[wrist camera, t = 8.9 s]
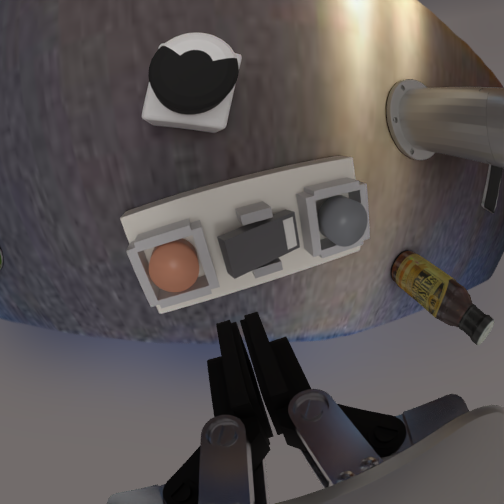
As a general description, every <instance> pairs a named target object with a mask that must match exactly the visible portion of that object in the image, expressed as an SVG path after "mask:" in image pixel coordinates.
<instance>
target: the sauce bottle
mask: <svg viewBox="0 0 504 504" xmlns="http://www.w3.org/2000/svg"><path fill="white" fill-rule="evenodd" d="M392 278H393V280H394V281H395V282H396V283H397V285H398V286H399V287H400V288H401V289H403V290H404V291H405V292H406V293H408V294H409V295H410V296H411V297H412V298H413V299H415V300H416V301H417V302H418V303H419V304H421V305H422V306H423V307H424V308H425V309H426V310H427V311H429V312H430V313H431V314H432V315H433V316H434V317H435V318H437V319H439V320H441V321H443V322H444V323H446V324H448V325H450V326H456V327H459V328H460V329H461V330H463V331H464V332H465V333H466V334H467V335H468V336H470V338H471V340H472V341H473V342H474V343H475V344H476V345H480V344H481V343H482V342H483V341H484V340H485V338H486V337H487V336H488V334H489V333H490V331H491V329H492V327H493V325H494V320H493V319H492V318H491V317H490V316H489V315H485V314H484V313H483V312H482V311H481V310H480V309H478V308H477V307H476V305H474V304H472V301H471V297H470V295H469V294H468V292H467V290H466V289H465V288H464V287H463V286H461V285H460V284H459V283H457V282H456V280H455V279H453V278H452V277H450V276H449V275H448V274H446V273H445V272H443V271H442V270H440V269H439V268H437V267H436V266H435V265H433V264H432V263H430V262H429V261H427V260H426V259H424V258H423V257H421V256H420V255H418V254H415V253H413V252H411V251H405V252H403V253H402V254H400V255H399V257H398V258H397V259H396V261H395V262H394V264H393V267H392Z"/></svg>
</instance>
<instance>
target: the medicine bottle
mask: <svg viewBox="0 0 504 504" xmlns="http://www.w3.org/2000/svg"><path fill="white" fill-rule="evenodd" d="M241 59H242V56H241V55H240V54H237V53H234V51H233V50H232V48H231V47H230V46H229V45H228V44H227V43H226V42H224V41H223V40H221V39H220V38H218V37H216V36H213V35H210V34H206V33H187V34H183V35H180V36H177V37H175V38H172V39H171V40H169V41H167V42H166V43H162V44H160V46H159V49H158V51H157V52H156V53H155V55H154V57H153V58H152V61H151V63H150V67H149V85H148V89H147V93H146V97H145V102H144V106H143V111H142V118H143V119H144V120H145V121H147V122H149V123H150V124H152V125H154V126H165V127H174V128H182V129H190V130H197V131H204V132H211V133H216V132H218V131H220V130H222V129H224V128H226V125H227V120H228V116H229V111H230V106H231V102H232V97H233V93H234V89H235V84H236V81H237V78H238V72H239V67H240V63H241Z"/></svg>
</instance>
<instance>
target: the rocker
mask: <svg viewBox="0 0 504 504" xmlns="http://www.w3.org/2000/svg"><path fill="white" fill-rule="evenodd" d="M217 238H218V242H219V245H220V249H221V252H222V256H223V259H224V263H225V266H226V270H227V273H228V274H229V275H230V276H232V277H233V278H234V279H236V278H238V277H240V276H242V275H244V274H246V273H248V272H250V271H252V270H254V269H256V268H258V267H261V266H263V265H265V264H267V263H269V262H271V261H273V260H275V259H277V258H279V257H281V256H283V255H285V254H287V253H289V252H291V251H293V250H295V249H297V248H299V247H300V243H299V237H298V230H297V224H296V218H295V212H293V211H290V210H286V209H285V210H282V211H280V212H277V213H274V214H273V217H272V218H268V219H265V220H261V221H257V222H254V223H250V224H247V225H244V226H242V227H239V228H237V229H234V230H232V231H229V232H227V233H225V234H222V235H220V236H217Z"/></svg>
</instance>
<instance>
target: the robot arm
mask: <svg viewBox="0 0 504 504" xmlns="http://www.w3.org/2000/svg"><path fill="white" fill-rule="evenodd" d="M387 122H388V126H389V130H390V133H391V135H392V138H393V140H394V142H395V143H396V145H397V147H398V148H399V149H400V151H402V152H403V153H404V154H405V155H406V156H408V157H409V158H412V159H416V160H426V159H428V158H430V157H431V156H433V155H434V154H435V153H440V154H446V155H451V156H456V157H460V158H465V159H470V160H474V161H478V162H482V163H486V164H490V165H494V166H497V167H501V168H504V88H490V87H437V88H427V87H426V86H425V85H424V84H423V83H421V82H419V81H417V80H413V79H407V80H402V81H400V82H398V83H396V84H395V85H394V86H393V88H392V89H391V91H390V93H389V96H388V100H387ZM240 322H241V326H242V329H243V333H244V336H245V340H246V343H247V347H248V350H249V354H250V357H251V360H252V364H253V367H254V371H255V374H256V377H257V381H258V384H259V387H260V391H261V394H262V396H263V400H264V402H265V405H266V407H267V410H268V412H269V415H270V417H271V420H272V422H273V425H274V427H275V429H276V432H277V434H278V435H280V434H284V437H285V440H286V442H287V444H288V445H290V446H293V447H295V448H298V449H299V451H300V452H301V454H302V455H303V457H304V459H305V460H306V462H307V464H308V465H309V467H310V468H311V470H312V471H313V473H314V475H315V476H316V478H317V479H318V481H319V482H320V484H321V485H322V487H323V488H324V489H322V490H319V491H316V492H313V493H310V494H307V495H304V496H301V497H298V498H294V499H291V500H287V501H283V502H280V503H276V504H504V407H501V406H498V405H489V406H483V407H480V408H477V409H474V410H472V411H469V410H468V408H467V405H466V403H465V401H464V400H463V399H462V397H460V396H458V395H456V394H449V395H445V396H443V397H441V398H438V399H436V400H434V401H431V402H429V403H426V404H423V405H421V406H418V407H416V408H413V409H410V410H407V411H404V412H403V414H401V415H398V416H392V415H385V414H381V413H376V412H371V411H366V410H361V409H357V408H352V407H348V406H344V405H340V404H337V403H336V402H335V401H334V400H333V398H332V397H331V396H330V395H329V394H328V393H326V392H325V391H322V390H318V389H311V387H310V385H309V383H308V381H307V379H306V377H305V375H304V373H303V371H302V369H301V366H300V364H299V363H298V360H297V358H296V356H295V354H294V352H293V350H292V348H291V345H290V343H289V341H288V339H287V338H286V337H283V338H280V339H277V340H274V341H271V342H269V340H268V338H267V335H266V333H265V330H264V327H263V325H262V322H261V320H260V317H259V314H258V312H254V313H251V314H248V315H245V319H244V320H241V321H240ZM216 325H217V332H218V338H219V344H220V349H221V355H222V356H221V357H217V358H213V359H210V360H208V361H207V364H208V373H209V381H210V388H211V396H212V403H213V410H214V418H212V419H210V420H209V421H208V422H207V423H206V424H205V426H204V427H203V429H202V433H201V445H200V447H199V448H198V449H197V450H196V451H195V452H194V453H193V455H192V456H191V457H190V458H189V459H188V460H187V461H186V463H184V464H183V466H182V467H181V468H180V469H179V470H178V471H177V472H176V473H175V474H174V475H173V476H172V477H171V479H169V480H168V481H167V483H166V484H164V485H161V486H158V485H153V486H150V487H145V488H141V489H136V490H131V491H126V492H121V493H116V494H113V495H112V496H111V497H110V498H109V499H108V502H107V504H270V503H269V493H268V484H267V475H266V464H265V456H266V455H267V453H268V452H269V451H270V447H269V445H270V442H269V439H268V438H270V437H273V434H272V430H271V427H270V424H269V421H268V417H267V414H266V411H265V408H264V405H263V401H262V398H261V395H260V391H259V388H258V385H257V382H256V378H255V375H254V372H253V368H252V365H251V362H250V360H249V357H248V354H247V352H246V349H245V346H244V343H243V340H242V337H241V335H240V332H239V329H238V326H237V323H236V322H234V323H231V322H230V320H228V321H224V322H221V323H217V324H216Z"/></svg>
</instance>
